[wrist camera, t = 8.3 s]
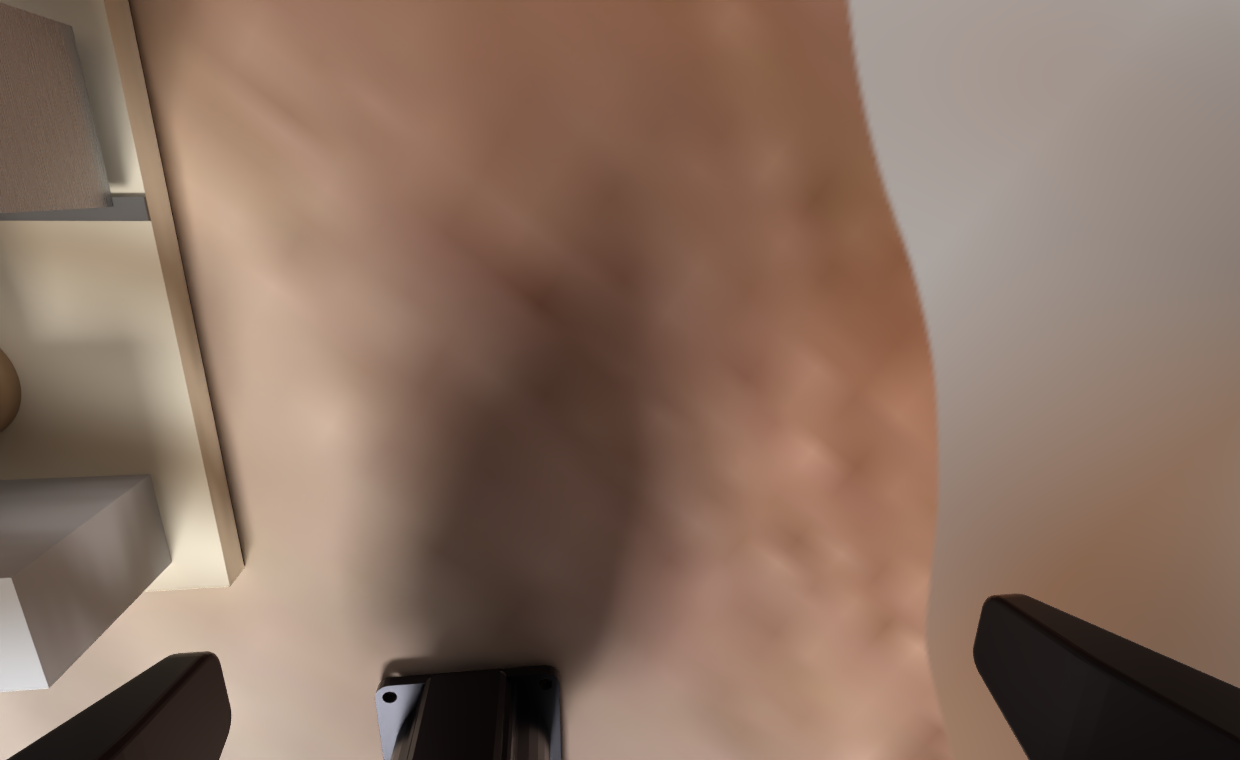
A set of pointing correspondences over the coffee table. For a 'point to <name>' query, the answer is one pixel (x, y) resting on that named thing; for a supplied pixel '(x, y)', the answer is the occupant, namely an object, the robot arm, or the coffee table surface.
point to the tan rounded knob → (8, 392)
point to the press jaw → (46, 119)
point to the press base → (103, 390)
